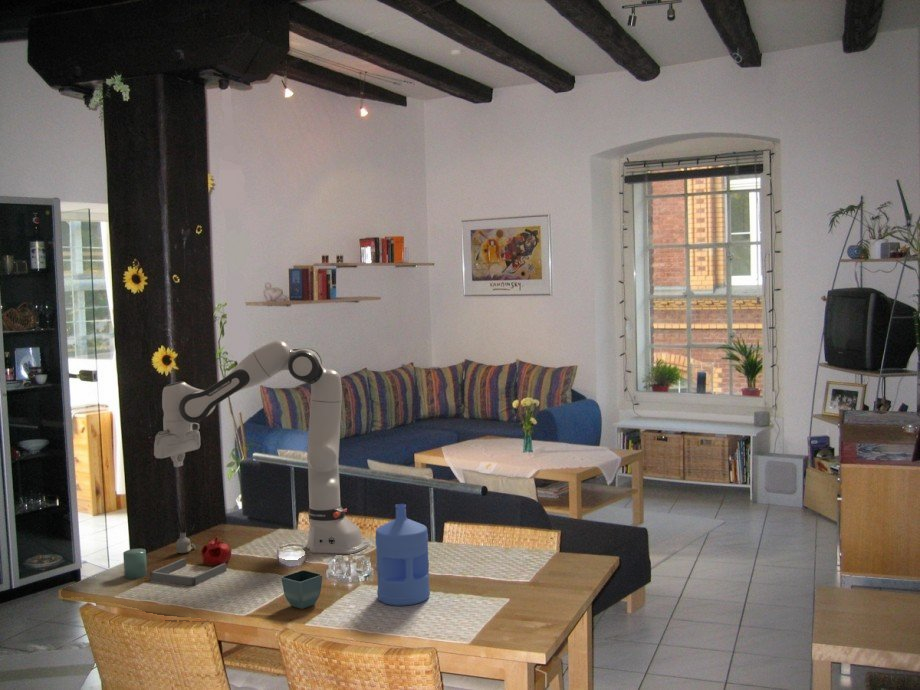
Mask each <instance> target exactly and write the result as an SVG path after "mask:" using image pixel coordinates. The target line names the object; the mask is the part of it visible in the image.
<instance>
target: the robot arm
mask: <svg viewBox="0 0 920 690" xmlns="http://www.w3.org/2000/svg"><path fill="white" fill-rule="evenodd" d="M282 371H288V372H289V374H290V375H291V376H292V377H293V379H296V380H298V381H300V382H302V383H305V384H309V385H310V390H311V392H310V404H309V405H310V406H309V407H310V408H309V421H308V439H307V440H308V441H307V450H306V451H307V455H306V456H307V457H306V459H307V469H308V470H307V476H308V480H307V481H308V502H309V507H308V511H307V513H308V521H309V527H308V538H307V542H306V546H305V547H306V548H307V549H308V550H309V553H314V554H315V553H316V554H317V553H318V554H319V553H320V554H338V555H339V554H341V555H342V554H343V555H351V554H355V553H358V552H360V551H363V550H365V549H367V547H368V546H369V544H370V543H369V541H368V540H364V539H363V535H362V531H361V528H360V527H359V526H357V525H356V524H355V523H354V522H353V521H351V520H350V519H349V518H347V516H346V512H347V511H348V510H347V509H348V508H346V507H345V508H343V506H342V505H341V488H340V486H341V485H340V469H339V467H340V465H339V458H340V441H341V439H340V438H341V437H340V436H341V420H342V419H341V418H342V417H341V416H342V403H343V386H342V376H341V375H340V373H339V372H337V371H336V370H334V369H331V368H326V367H324V366H323V365H322V358H321V356H320V354H319V353H318V352H317V351H316V350H314V349H311V348H308V347H307V348H295V349H291V347H290V345H289V344H288V343H286V342H285V341H284V340H280V339H277V340H274V341H271V342H269V343H266V344H265V345H262V346H260V347H259V348H257V349H255V350H254V351H252V352H251V353H249V354H248V355H247V356H246V357H244V358H243V359H242V360H241V361H240V362H239V363H237V365H236V366H235V367H234V368H232V370H231V371H230V372H229V373H228V374H227V375H226V376H224V377H223V378H222V379H220V380H219V381H218V382H215V384H212V385H211V386H210V387H208V388H206V389H202V388H201V389H200V388H196V387H194V386H192V385H190V384H188V383H187V382H185V381H175V382H172V383H169V384H167V385H165V386H164V387H163V389H162V399H161V404H162V405H161V406H162V411H163V418H162V421H163V422H162V423H163V430H162V431H161V430H160V431H158V432H157V433H156V435H155V436H154V443H153V444H154V445H153V456H154V457H155V459H165V458H170V459H171V461H172V463H173V467H174V468H178V467H179V468H180V467H182V466H184V461H185V457H186V453H188V452H192V451H196V450H199V449H200V447H201V433H200V431H199V430H200V424H199V423H201V422H202V421H204V420H205V419H206V418H207V417H208V416H210V415H211V414H212V413H213V412H214V410H215V408H216V406H217V405H218V404H220V403H221V402H223V401H224V400H226V399H227V398H228V397H230V396H232V395H234V394H235V393H238V392H240V391H243V390H246V389H248V388H252V387H254V386H258V385H260V384H262V383H264V382H266V381H267V380H269V379H271V378H273V377H274V376H275V375H277V374H279V373H281V372H282Z"/></svg>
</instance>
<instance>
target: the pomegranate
mask: <svg viewBox="0 0 920 690" xmlns="http://www.w3.org/2000/svg"><path fill="white" fill-rule="evenodd" d="M218 538H219V537H218V535H217V536H214V540H211V539H210V540H208V542H204V545H203V547H202V549H201V556H202V558H201V559H202V562H203V563H204V564H205V565H207V566H215V567H217V566H219V565H221V564H223V563H226V564H227V563H228V562H230V561H231V558H232V550H231V547H230V546H229V545H228V544H227V543H226V542H223V541H224V539H221V540H219V539H218ZM218 540H219V541H218Z"/></svg>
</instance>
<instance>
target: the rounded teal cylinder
mask: <svg viewBox="0 0 920 690" xmlns="http://www.w3.org/2000/svg"><path fill="white" fill-rule="evenodd" d="M122 555H123V571H124V572H123V573H124V575H123V576H124V578H125V579H126V580H135V579H141V578H143V577H147V575H148V569H147V568H148V567H147V550H146V549H145V548H131V549H128V550H127V549H126V550H125V551H123V553H122Z"/></svg>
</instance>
